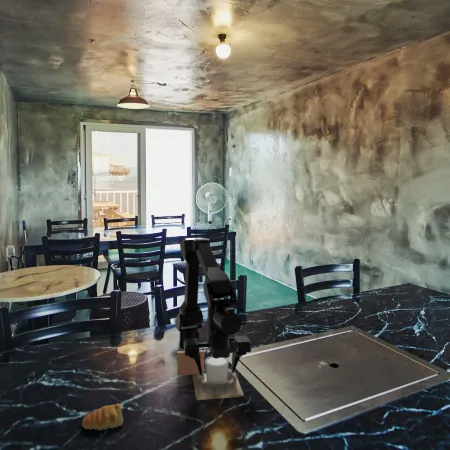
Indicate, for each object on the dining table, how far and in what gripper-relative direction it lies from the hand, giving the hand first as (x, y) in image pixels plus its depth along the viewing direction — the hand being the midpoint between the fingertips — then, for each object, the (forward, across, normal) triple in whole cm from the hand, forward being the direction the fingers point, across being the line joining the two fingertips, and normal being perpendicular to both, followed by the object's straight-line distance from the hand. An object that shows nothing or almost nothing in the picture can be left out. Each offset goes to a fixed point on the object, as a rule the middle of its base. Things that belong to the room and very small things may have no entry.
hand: (216, 373), depth 109 cm
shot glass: (+3, 0, 0) cm, 3 cm away
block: (+4, -7, +6) cm, 10 cm away
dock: (+4, 0, 0) cm, 4 cm away
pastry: (+4, -29, -13) cm, 32 cm away
